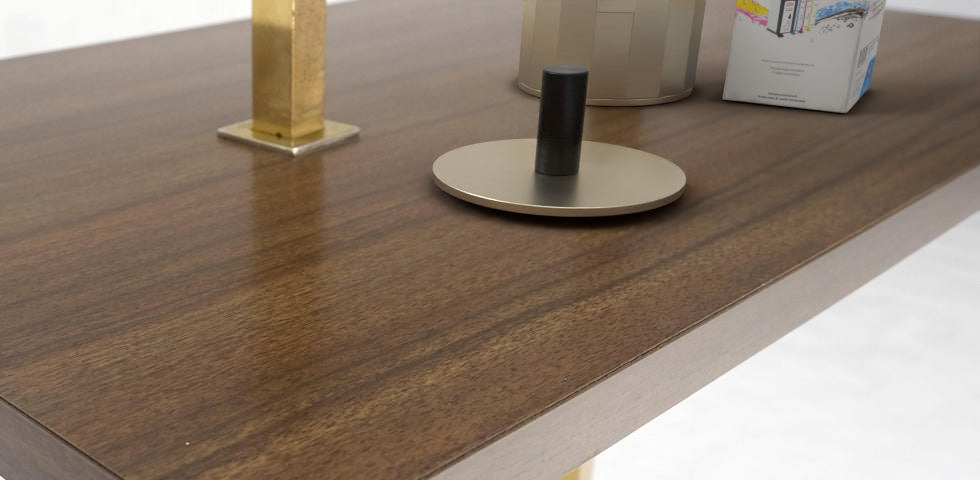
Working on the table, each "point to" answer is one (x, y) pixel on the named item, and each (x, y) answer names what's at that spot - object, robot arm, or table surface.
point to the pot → (615, 47)
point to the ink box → (803, 52)
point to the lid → (559, 164)
